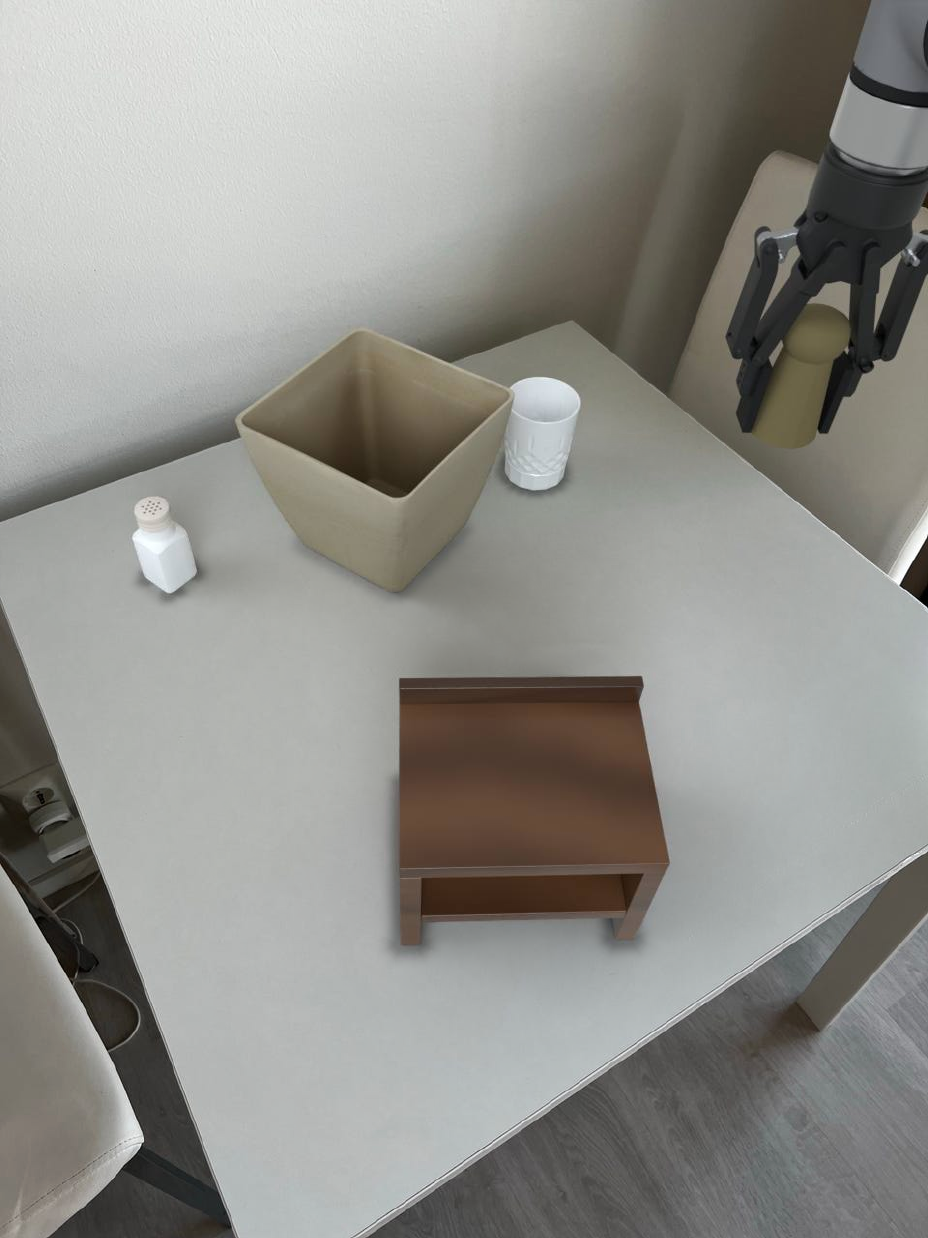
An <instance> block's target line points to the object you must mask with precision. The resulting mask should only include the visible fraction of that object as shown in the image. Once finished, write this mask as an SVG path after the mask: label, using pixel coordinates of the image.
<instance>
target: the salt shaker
mask: <svg viewBox="0 0 928 1238" xmlns="http://www.w3.org/2000/svg"><path fill="white" fill-rule="evenodd" d="M133 513H134V517H135V521H136V523H137V526H138V529H137V530H135V532H133V535H132V537H131V538H132V541H133V544H134V548H135V552H136V554H137V557H138V560H139V563H140V567H141V570H142V573H143V576H144V578H146V579H147V580H148V581H149V582H151V583H152V584H153V585H155V586H156V587H158V588H159V589H160V590H162V591H164V592H165V593H167V594H172V593H174V592H175V591H177V590H178V589H180V588H181V587H182V586H184V585H185V584H186V583H187V582H189V581H190V580H192V579H193V578H194V577H195V576H196V575H197V572H198V570H197V569H198V568H197V566H196V562H195V561H196V560H195V558H194V554H193V550H192V546H191V542H190V539H189V535H188V532H187V530H186V529H185V528H184V527H183V526H181V525H180V524H179V523H178V522H176V521H174V516H173V512H172V509H171V505H170V503H169V502H168V501H167V499H166V498H163V497H161V496H158V495H157V496H147V497H145V498H142V499H140V500H139V501H138V502H137V503H136V504H135V506H134V511H133Z"/></svg>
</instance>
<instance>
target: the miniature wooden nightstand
mask: <svg viewBox="0 0 928 1238" xmlns="http://www.w3.org/2000/svg"><path fill="white" fill-rule="evenodd" d="M644 688H645V684H644V678H643V676H642V675H615V676H614V675H601V676H600V675H596V676H595V675H594V676H592V675H591V676H585V675H583V676H491V677H490V676H479V677H478V676H475V677H471V676H469V677H468V676H467V677H466V676H465V677H399V678H398V698H399V699H398V703H399V705H398V707H399V709H398V710H399V711H398V713H399V714H398V724H399V725H398V726H399V728H398V759H399V760H398V772H399V773H398V887H399V888H398V890H399V924H400V925H399V926H400V927H399V928H400V931H399V932H400V946H421V944H422V943H421V942H422V940H421V937H422V923H453V922H457V923H459V922H460V923H461V922H497V921H498V922H499V921H503V922H504V921H541V920H543V921H544V920H585V919H587V920H588V919H611V923H612V924H611V925H612V929H613V938H614V940H615V941H633V940H635V938H636V935H637V934H638V932H639V929H640V927H641V925H642V923H643V921H644V919H645V917H646V915H647V913H648V910H649V908H650V906H651V904H652V902H653V900H654V898H655V897H656V894H657V892H658V890H659V888H660V885H661V883H662V881H663V880H664V877H665V875H666V873H667V871H668V868H669V867H670V864H671V861H670V856H669V851H668V846H667V845H668V844H667V841H666V840H667V839H666V836H665V831H664V830H665V829H664V825H663V820H662V814H661V809H660V804H659V799H658V794H657V788H656V784H655V779H654V773H653V767H652V763H651V756H650V752H649V747H648V741H647V735H646V732H645V726H644V721H643V715H642V710H641V705H640V700H641V697H642V694H643V691H644Z"/></svg>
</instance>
